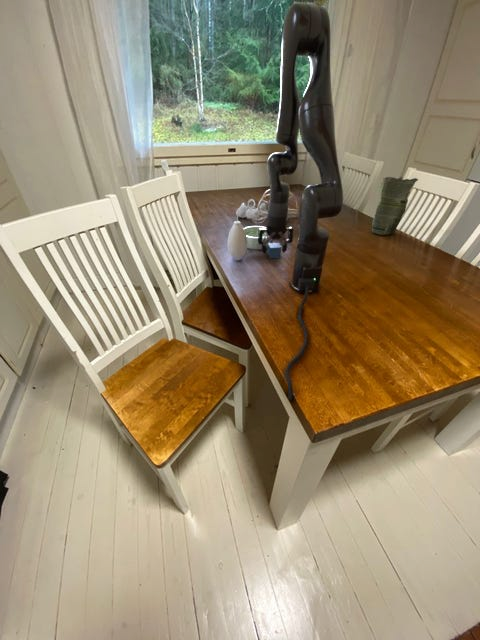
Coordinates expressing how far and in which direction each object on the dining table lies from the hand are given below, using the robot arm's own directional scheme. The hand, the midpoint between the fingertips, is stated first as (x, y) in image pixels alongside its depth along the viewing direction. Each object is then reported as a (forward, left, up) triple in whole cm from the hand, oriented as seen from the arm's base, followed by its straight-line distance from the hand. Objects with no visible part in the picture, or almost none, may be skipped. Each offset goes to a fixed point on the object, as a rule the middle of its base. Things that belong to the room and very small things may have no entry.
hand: (273, 252), depth 114 cm
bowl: (+13, +5, -1) cm, 14 cm away
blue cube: (0, 0, -1) cm, 1 cm away
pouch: (+18, -60, -2) cm, 63 cm away
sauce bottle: (-2, +16, -2) cm, 16 cm away
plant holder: (+47, -8, -2) cm, 47 cm away
